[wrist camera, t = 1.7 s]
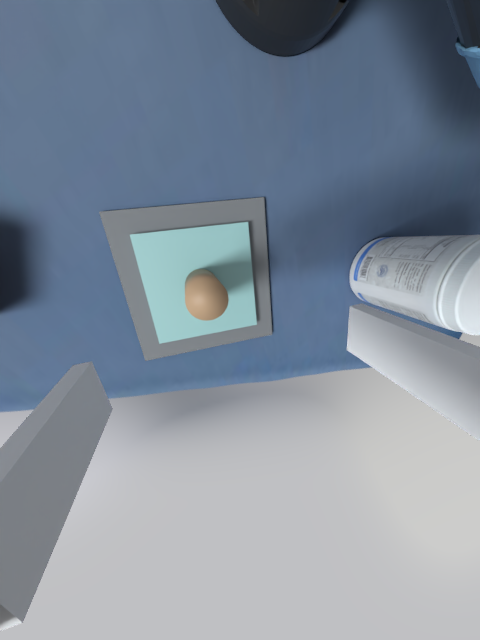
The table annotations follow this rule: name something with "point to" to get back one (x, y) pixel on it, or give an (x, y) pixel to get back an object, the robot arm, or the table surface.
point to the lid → (197, 279)
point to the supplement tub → (423, 278)
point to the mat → (184, 217)
